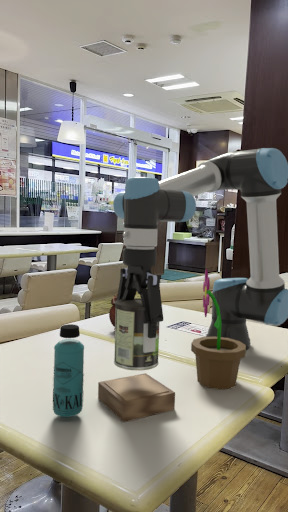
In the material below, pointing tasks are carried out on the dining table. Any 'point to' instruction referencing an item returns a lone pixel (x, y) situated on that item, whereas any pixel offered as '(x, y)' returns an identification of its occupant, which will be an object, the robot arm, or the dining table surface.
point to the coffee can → (132, 337)
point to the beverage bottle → (68, 373)
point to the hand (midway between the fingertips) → (136, 344)
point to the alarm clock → (113, 310)
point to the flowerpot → (216, 352)
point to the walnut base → (136, 396)
